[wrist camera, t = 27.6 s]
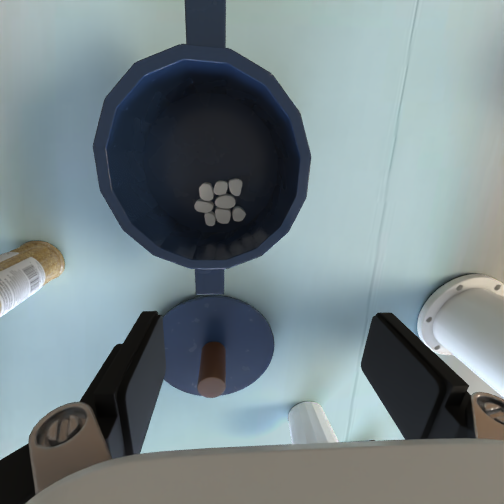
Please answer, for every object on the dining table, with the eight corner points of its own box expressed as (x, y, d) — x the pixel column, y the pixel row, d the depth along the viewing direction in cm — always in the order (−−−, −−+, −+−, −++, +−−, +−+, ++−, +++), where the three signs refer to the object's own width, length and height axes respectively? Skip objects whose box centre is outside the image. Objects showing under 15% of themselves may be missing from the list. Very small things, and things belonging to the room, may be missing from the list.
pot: (293, 56, 23) (329, 1, 15) (276, 260, 30) (295, 297, 22) (124, 40, 21) (63, -31, 13) (147, 260, 28) (117, 300, 20)
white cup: (291, 396, 38) (304, 446, 31) (332, 400, 39) (354, 448, 32) (279, 428, 40) (289, 481, 33) (319, 430, 41) (337, 482, 34)
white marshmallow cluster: (243, 178, 24) (246, 223, 26) (242, 177, 25) (245, 220, 27) (191, 181, 24) (196, 227, 25) (192, 180, 25) (198, 223, 27)
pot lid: (277, 291, 31) (289, 324, 25) (268, 386, 36) (277, 432, 30) (146, 293, 29) (125, 329, 23) (157, 392, 35) (143, 442, 29)
